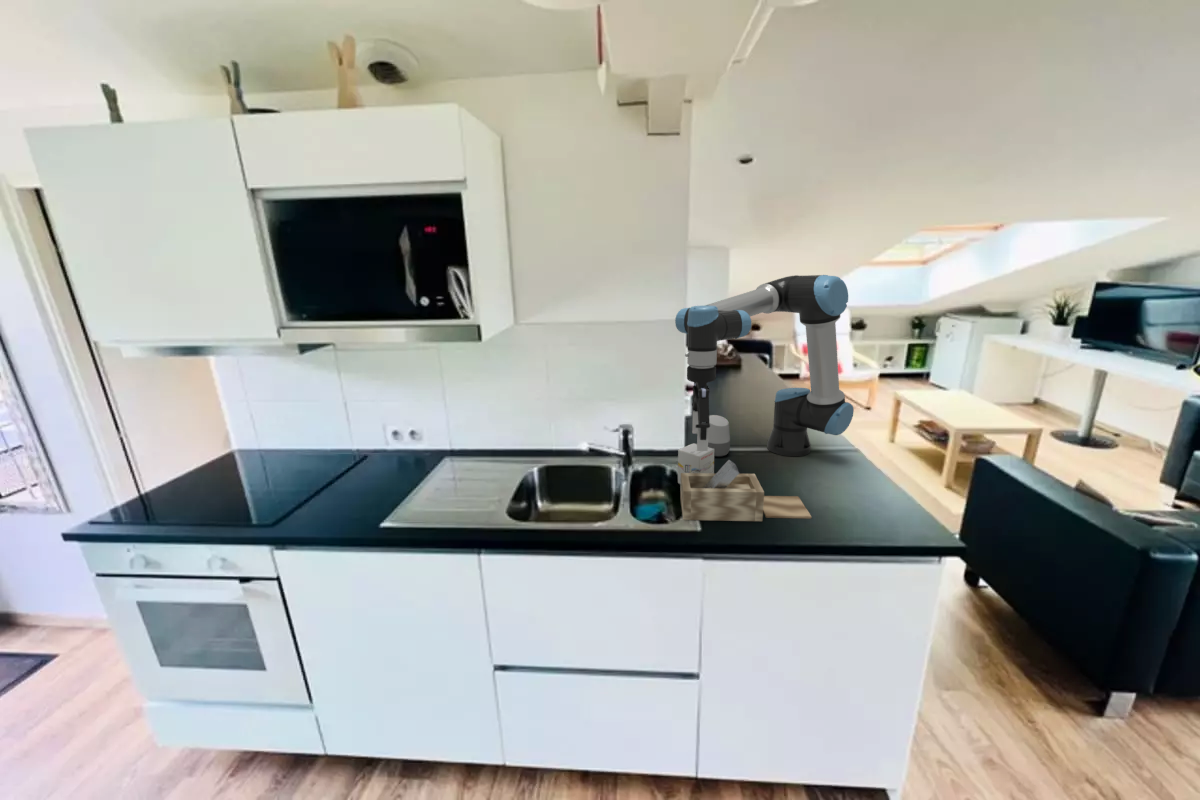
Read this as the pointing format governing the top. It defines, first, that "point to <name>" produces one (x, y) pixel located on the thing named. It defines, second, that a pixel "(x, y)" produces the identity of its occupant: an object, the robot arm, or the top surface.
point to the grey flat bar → (723, 476)
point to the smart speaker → (719, 435)
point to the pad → (784, 507)
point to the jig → (721, 498)
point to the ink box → (695, 460)
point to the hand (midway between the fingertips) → (699, 441)
